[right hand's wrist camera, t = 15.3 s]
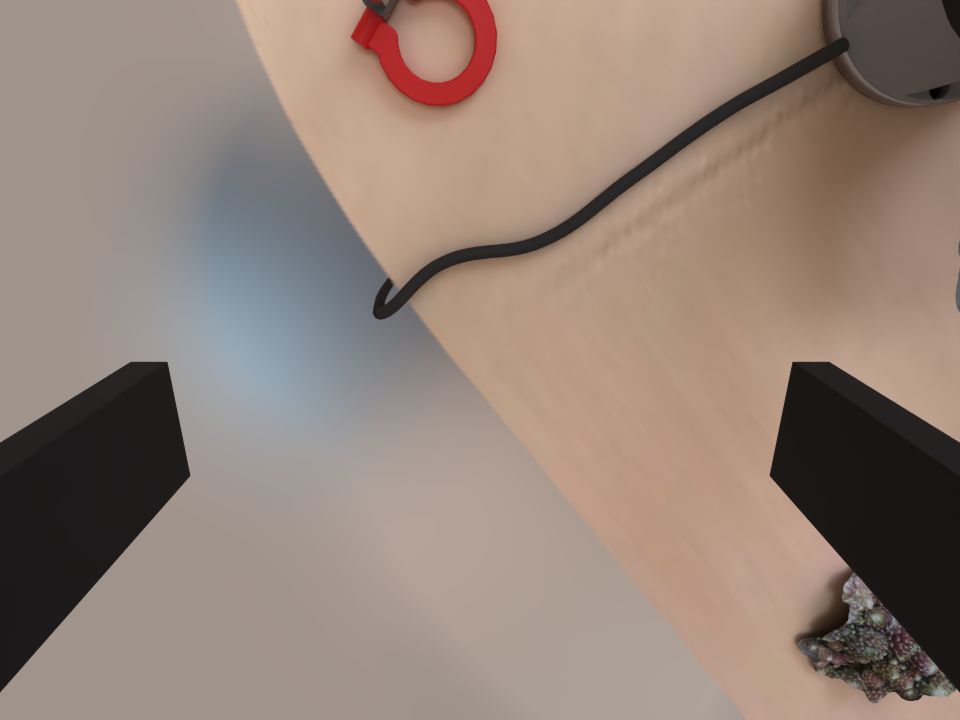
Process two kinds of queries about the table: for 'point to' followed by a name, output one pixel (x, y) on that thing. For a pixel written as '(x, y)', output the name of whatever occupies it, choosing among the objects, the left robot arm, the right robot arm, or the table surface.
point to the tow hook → (385, 44)
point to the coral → (875, 652)
